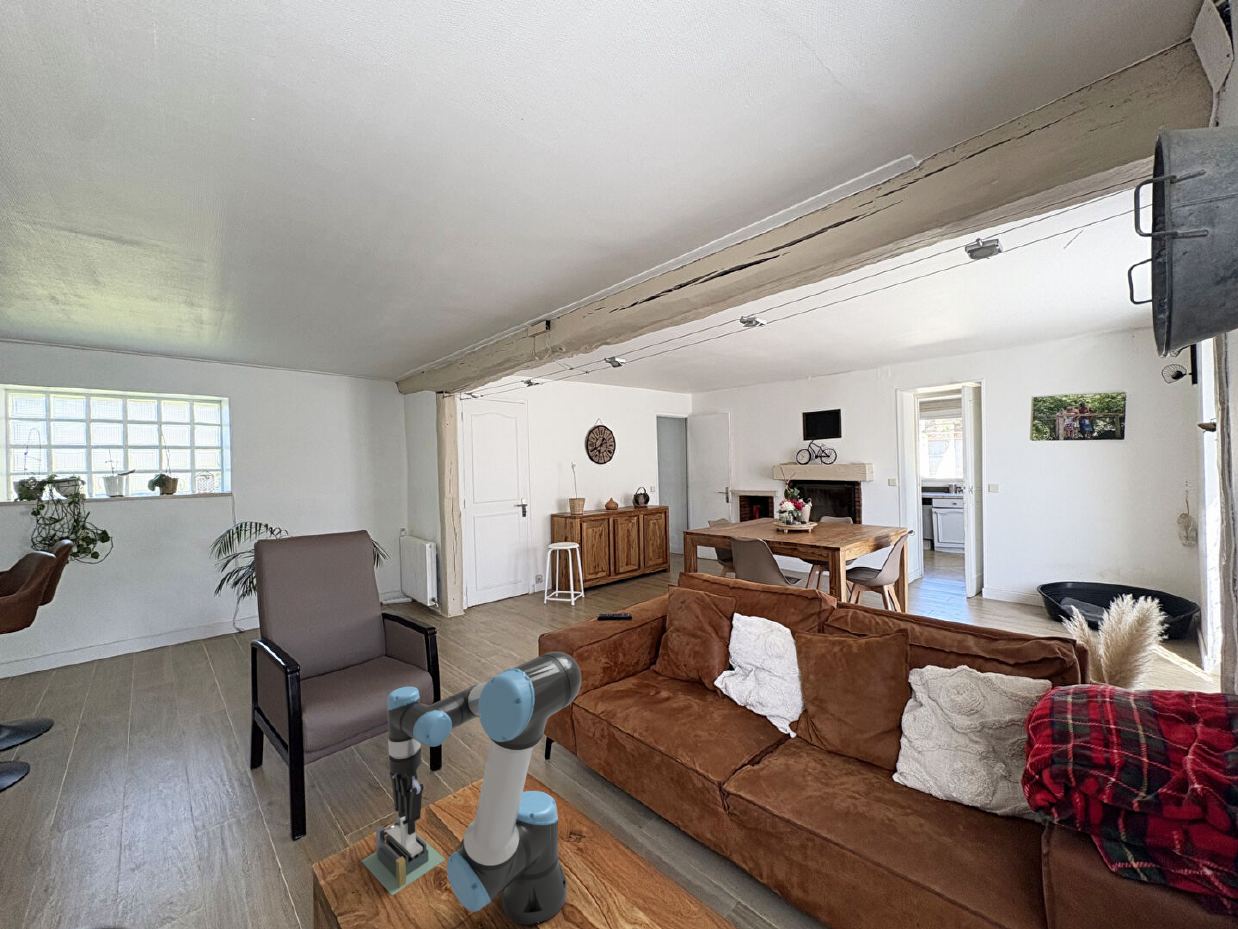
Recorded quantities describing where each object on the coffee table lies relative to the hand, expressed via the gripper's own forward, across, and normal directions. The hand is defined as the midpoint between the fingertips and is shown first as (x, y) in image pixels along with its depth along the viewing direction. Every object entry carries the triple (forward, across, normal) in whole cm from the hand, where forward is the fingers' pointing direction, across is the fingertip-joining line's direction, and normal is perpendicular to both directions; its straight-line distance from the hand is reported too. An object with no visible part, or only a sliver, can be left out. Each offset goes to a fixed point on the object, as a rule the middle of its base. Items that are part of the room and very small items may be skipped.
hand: (408, 843), depth 131 cm
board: (+7, +3, 0) cm, 8 cm away
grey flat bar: (+1, +3, 0) cm, 3 cm away
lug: (+6, -4, +4) cm, 8 cm away
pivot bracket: (+6, +10, 0) cm, 11 cm away
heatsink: (+6, +3, 0) cm, 7 cm away
